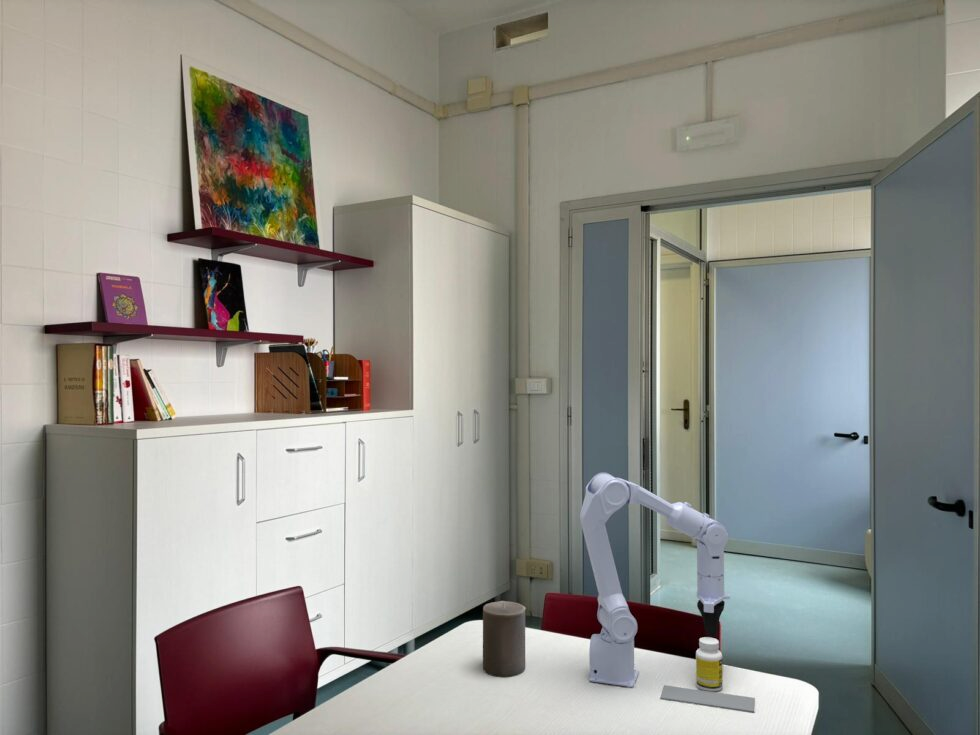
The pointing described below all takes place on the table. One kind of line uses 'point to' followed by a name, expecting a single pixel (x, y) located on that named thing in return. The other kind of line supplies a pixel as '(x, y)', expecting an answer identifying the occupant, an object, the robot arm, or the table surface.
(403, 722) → the table surface
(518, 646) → the pillar candle
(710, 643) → the supplement bottle
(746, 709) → the mat
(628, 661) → the robot arm
